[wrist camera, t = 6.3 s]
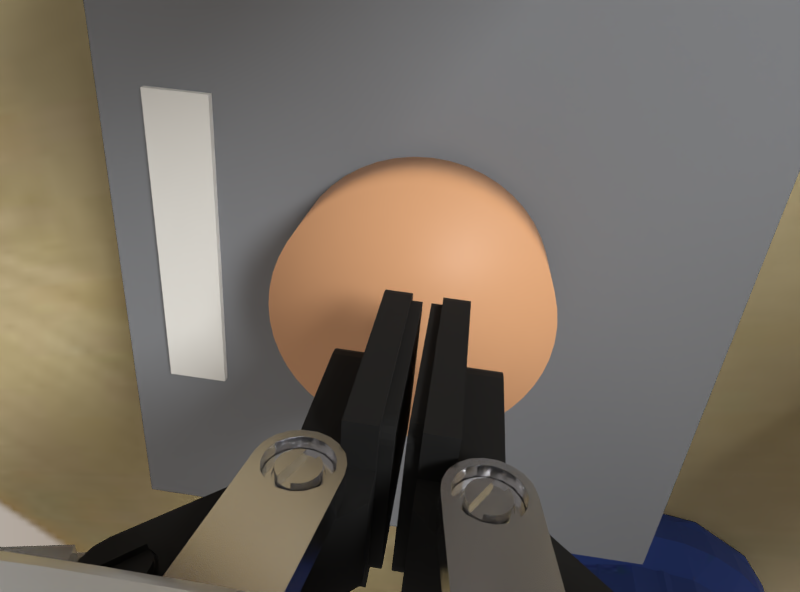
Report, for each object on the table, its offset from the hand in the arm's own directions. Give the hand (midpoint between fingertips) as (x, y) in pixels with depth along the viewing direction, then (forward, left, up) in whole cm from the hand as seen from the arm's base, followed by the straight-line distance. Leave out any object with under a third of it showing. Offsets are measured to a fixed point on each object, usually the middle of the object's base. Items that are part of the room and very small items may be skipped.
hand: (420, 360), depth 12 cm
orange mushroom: (0, 0, -10) cm, 10 cm away
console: (0, 0, -10) cm, 10 cm away
